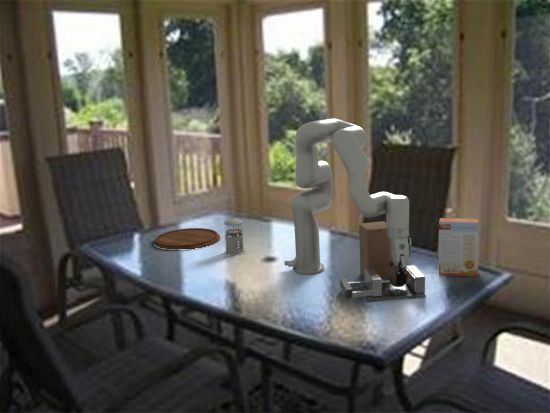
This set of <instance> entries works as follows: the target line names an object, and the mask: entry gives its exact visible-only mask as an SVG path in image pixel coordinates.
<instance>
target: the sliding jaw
mask: <svg viewBox="0 0 550 413" xmlns="http://www.w3.org/2000/svg"><path fill="white" fill-rule="evenodd" d="M339 280H340V283H339V284H340V285H339V286H340V288H341V291H342V292H343V295H344V297H345V298H346V299H353V298H359V297H365V296H373V297H374V296H382V283H383V282H382V281H383V280H382V279H381V278H380V276H379V275H378V274H377V272H376V271H375V270H374V268H365V278H364V280H361V281H359V280H358V281H348V279H347V278H340V279H339ZM364 286H367V288H368V290H365V291H361V290H354V291H353V288H359V287H364Z"/></svg>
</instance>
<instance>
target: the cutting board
mask: <svg viewBox="0 0 550 413" xmlns="http://www.w3.org/2000/svg"><path fill="white" fill-rule="evenodd" d="M220 240H221V236H220V234H219V233H218V232H217V231H216V230H214V229H211V228H204V227H203V228H202V227H189V228H179V229H175V230H169V231H166V232H163V233H161V234H158V235H157V236H156V237H155V238H154V240H153V241H154V244H155V245H156V246H158V247H160V248H166V249H176V250H177V249H194V250H196V249H195V248H200V249H203V248H202V247H204V248H207V247H206V246H208V247H210V245H211V246H213V245H215V244H216V243H218V242H220Z"/></svg>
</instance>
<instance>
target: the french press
mask: <svg viewBox="0 0 550 413" xmlns="http://www.w3.org/2000/svg"><path fill="white" fill-rule="evenodd" d="M229 201H230V202H231V205H233V201H234V197H229ZM231 215H232V218H230V219H227V220H225V221H224V222H223V224H224V225H225V226H228V227H232V229H228V230H226V231H225V233H226V234H225V235H224V237H225V239H224V240H225V252H224V253H225V254H226V256H228V255H230V257H233V256H234V257H236V255H238V256H242V255H244V254H246V253H247V251H246V249H245V248H244V235H243V234H244V233H243V226H242V224H243V221H242V220H241V219H238V218H234V212H233V210H231ZM234 226H235V227H237V229H236V228H234ZM240 227H241V229H240ZM225 254H224V255H225Z"/></svg>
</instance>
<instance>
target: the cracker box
mask: <svg viewBox="0 0 550 413" xmlns="http://www.w3.org/2000/svg"><path fill="white" fill-rule="evenodd" d="M479 222H480V221H479V218H452V217H451V218H449V217H448V218H447V217H444V218H443V217H440V218H439V221H438V275H439V276H456V277H475V278H476V277H479V276H478V275H479V224H480V223H479Z"/></svg>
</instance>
